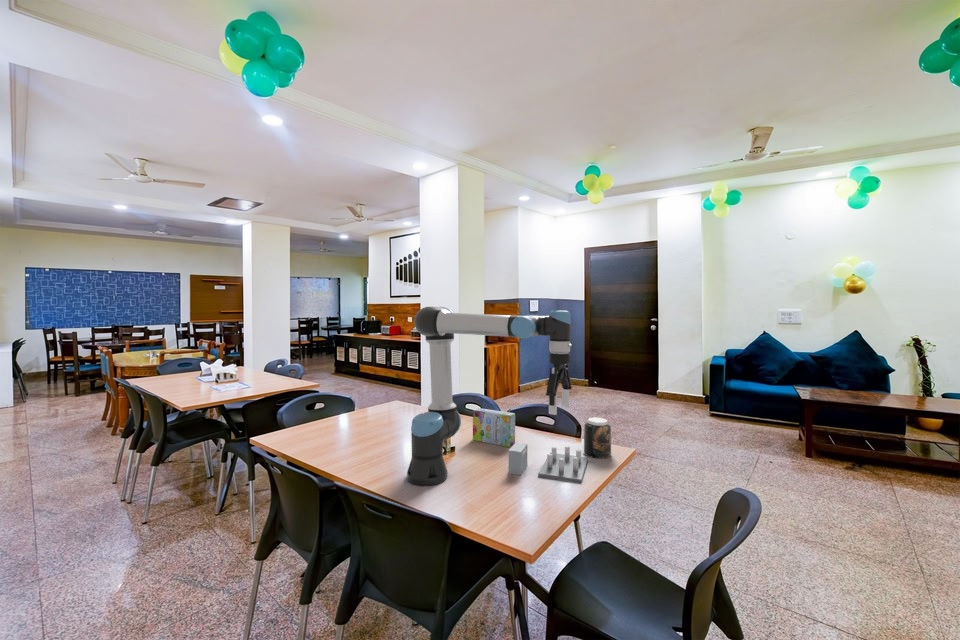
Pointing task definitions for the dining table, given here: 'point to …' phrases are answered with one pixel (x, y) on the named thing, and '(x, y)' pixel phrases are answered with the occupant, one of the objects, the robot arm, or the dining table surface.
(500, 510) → the dining table surface
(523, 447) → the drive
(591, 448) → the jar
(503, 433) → the snack box
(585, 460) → the grey peg board
